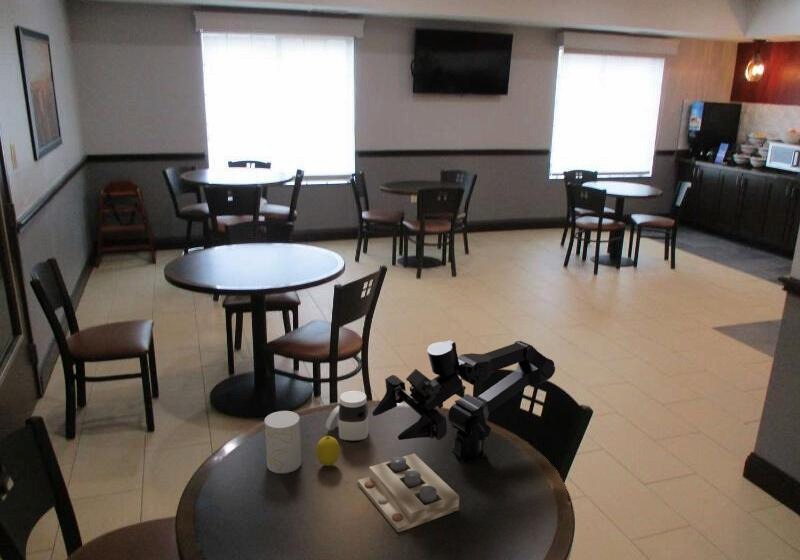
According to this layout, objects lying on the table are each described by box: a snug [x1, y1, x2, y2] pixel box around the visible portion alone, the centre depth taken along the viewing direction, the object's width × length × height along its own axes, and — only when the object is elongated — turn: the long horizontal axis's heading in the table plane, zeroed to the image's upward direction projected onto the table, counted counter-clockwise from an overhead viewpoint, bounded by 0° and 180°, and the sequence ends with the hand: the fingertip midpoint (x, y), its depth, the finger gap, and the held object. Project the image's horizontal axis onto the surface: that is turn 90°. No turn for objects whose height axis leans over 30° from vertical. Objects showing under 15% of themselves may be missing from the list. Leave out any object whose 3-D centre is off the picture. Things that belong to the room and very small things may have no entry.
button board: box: [357, 453, 460, 533], centre depth 137 cm, size 15×19×4 cm
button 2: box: [420, 486, 437, 505], centre depth 131 cm, size 4×4×2 cm
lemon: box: [316, 435, 341, 467], centre depth 147 cm, size 6×6×8 cm
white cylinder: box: [264, 410, 302, 474], centre depth 147 cm, size 8×8×12 cm
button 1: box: [390, 455, 406, 473], centre depth 142 cm, size 4×4×2 cm
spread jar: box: [325, 390, 369, 445], centre depth 161 cm, size 12×11×12 cm
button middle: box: [404, 470, 421, 488], centre depth 137 cm, size 4×4×2 cm
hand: (385, 426), depth 135 cm, fingers open, 9 cm apart
